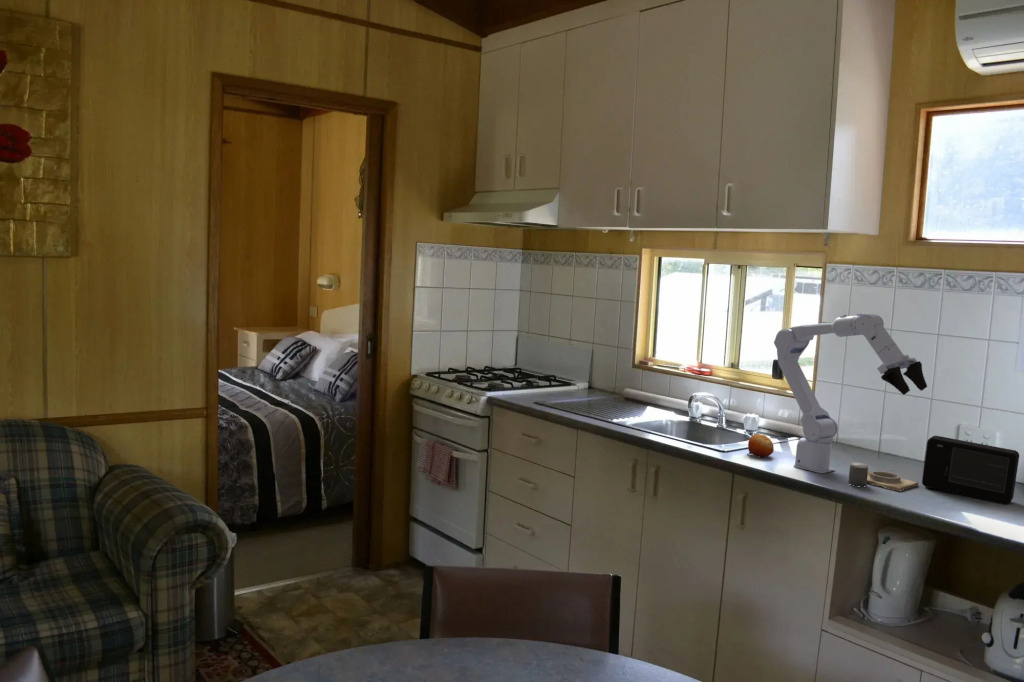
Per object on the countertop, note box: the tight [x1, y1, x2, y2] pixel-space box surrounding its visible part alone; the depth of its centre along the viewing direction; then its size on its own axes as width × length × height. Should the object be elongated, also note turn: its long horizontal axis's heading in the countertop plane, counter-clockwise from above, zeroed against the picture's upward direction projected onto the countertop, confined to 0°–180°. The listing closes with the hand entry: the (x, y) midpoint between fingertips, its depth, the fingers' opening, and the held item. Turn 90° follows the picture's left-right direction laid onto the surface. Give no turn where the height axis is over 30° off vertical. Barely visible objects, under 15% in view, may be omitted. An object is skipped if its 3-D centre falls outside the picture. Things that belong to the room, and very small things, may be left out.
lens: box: [847, 462, 869, 488], centre depth 240 cm, size 5×5×6 cm
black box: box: [921, 435, 1020, 505], centre depth 236 cm, size 23×10×15 cm, turn 50°
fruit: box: [746, 433, 774, 459], centre depth 269 cm, size 8×8×8 cm
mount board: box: [867, 470, 919, 492], centre depth 244 cm, size 14×12×2 cm
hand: (915, 390), depth 231 cm, fingers open, 7 cm apart
